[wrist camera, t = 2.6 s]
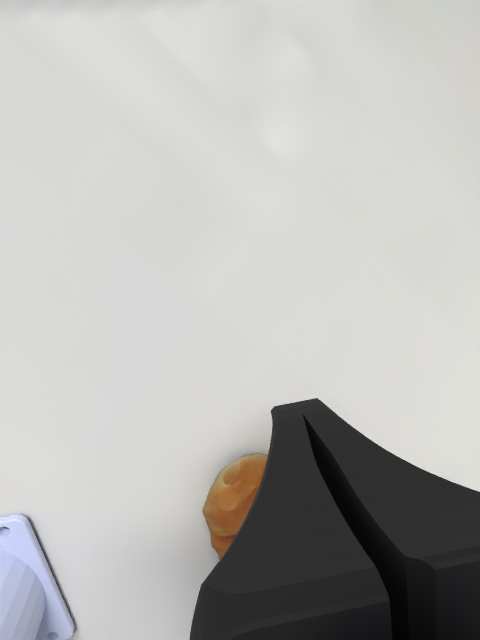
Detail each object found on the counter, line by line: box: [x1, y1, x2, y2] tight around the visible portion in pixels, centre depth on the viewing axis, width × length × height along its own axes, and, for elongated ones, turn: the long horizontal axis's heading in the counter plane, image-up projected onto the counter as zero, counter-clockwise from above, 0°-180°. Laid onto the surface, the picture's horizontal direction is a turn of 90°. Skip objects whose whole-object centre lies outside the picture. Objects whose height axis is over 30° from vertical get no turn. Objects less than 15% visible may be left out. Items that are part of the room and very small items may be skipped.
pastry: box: [203, 453, 268, 559], centre depth 21 cm, size 9×7×4 cm
